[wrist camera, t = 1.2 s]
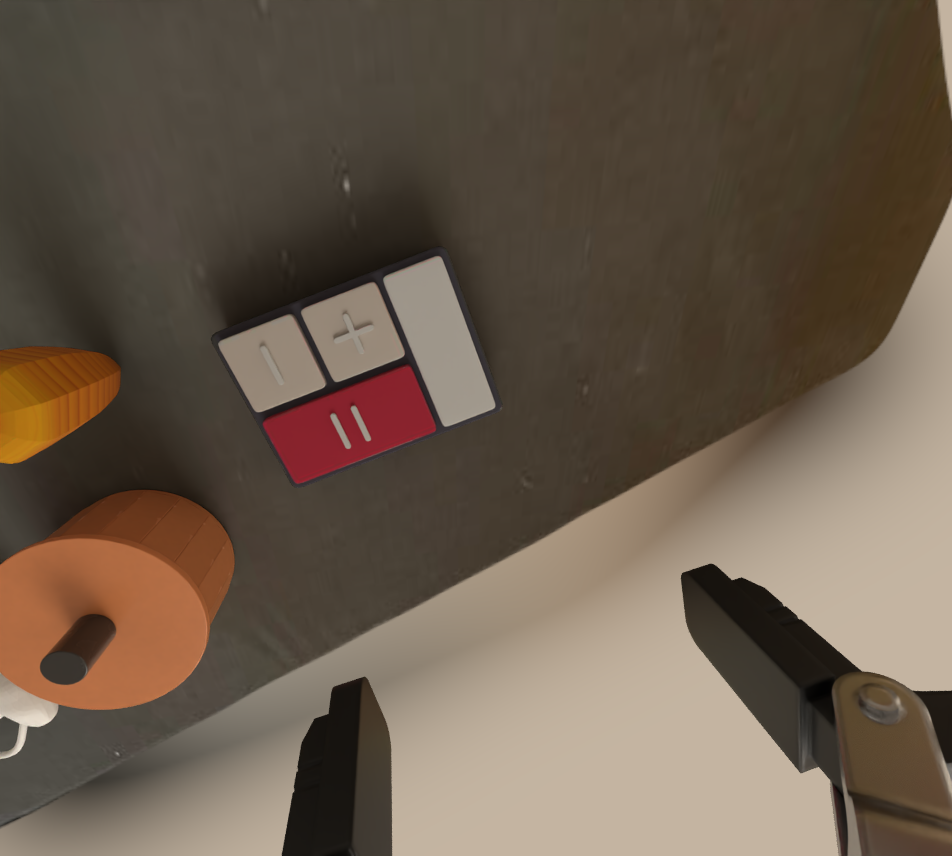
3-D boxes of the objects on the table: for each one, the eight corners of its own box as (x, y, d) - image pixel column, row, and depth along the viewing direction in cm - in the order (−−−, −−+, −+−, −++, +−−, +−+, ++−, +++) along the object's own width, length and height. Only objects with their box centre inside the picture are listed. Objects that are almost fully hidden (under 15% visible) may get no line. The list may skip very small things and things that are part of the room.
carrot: (171, 356, 32) (-5, 428, 18) (136, 419, 32) (-58, 535, 18) (90, 312, 30) (-174, 351, 16) (56, 379, 31) (-223, 472, 17)
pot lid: (-54, 640, 28) (-123, 698, 25) (59, 489, 27) (3, 526, 23) (144, 722, 32) (111, 784, 28) (253, 595, 31) (233, 641, 27)
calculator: (201, 337, 28) (445, 242, 28) (228, 327, 32) (441, 244, 32) (291, 496, 32) (507, 413, 32) (305, 469, 36) (496, 396, 36)
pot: (34, 574, 34) (-48, 645, 28) (122, 459, 33) (56, 505, 27) (180, 645, 38) (137, 722, 32) (265, 543, 37) (238, 603, 30)
